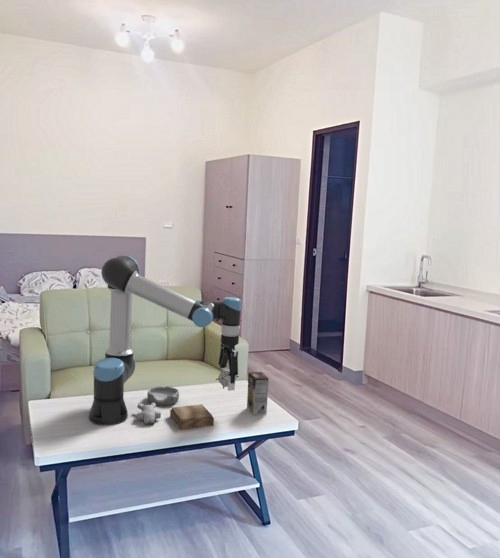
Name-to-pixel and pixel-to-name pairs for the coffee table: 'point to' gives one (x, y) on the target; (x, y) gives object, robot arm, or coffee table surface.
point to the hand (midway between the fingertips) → (226, 386)
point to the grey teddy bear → (148, 413)
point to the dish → (163, 395)
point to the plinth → (191, 416)
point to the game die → (224, 377)
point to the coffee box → (257, 393)
